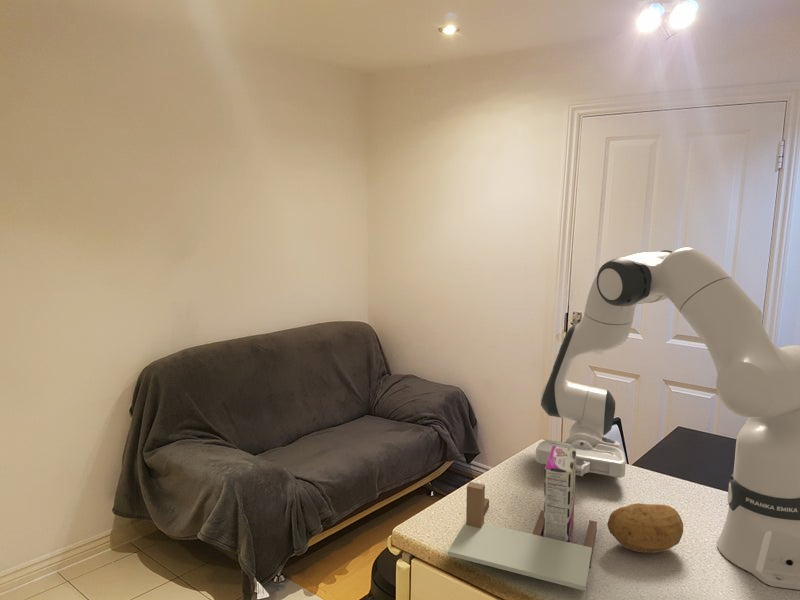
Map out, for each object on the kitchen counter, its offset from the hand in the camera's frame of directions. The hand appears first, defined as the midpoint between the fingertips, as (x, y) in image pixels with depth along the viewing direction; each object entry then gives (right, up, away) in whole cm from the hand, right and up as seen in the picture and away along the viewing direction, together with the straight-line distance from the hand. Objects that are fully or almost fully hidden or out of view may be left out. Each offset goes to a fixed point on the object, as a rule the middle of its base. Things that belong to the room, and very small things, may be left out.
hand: (576, 472), depth 124 cm
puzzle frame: (-14, -7, -15) cm, 22 cm away
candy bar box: (-9, -8, -16) cm, 20 cm away
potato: (+6, -8, -20) cm, 22 cm away
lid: (-18, -7, -25) cm, 32 cm away
